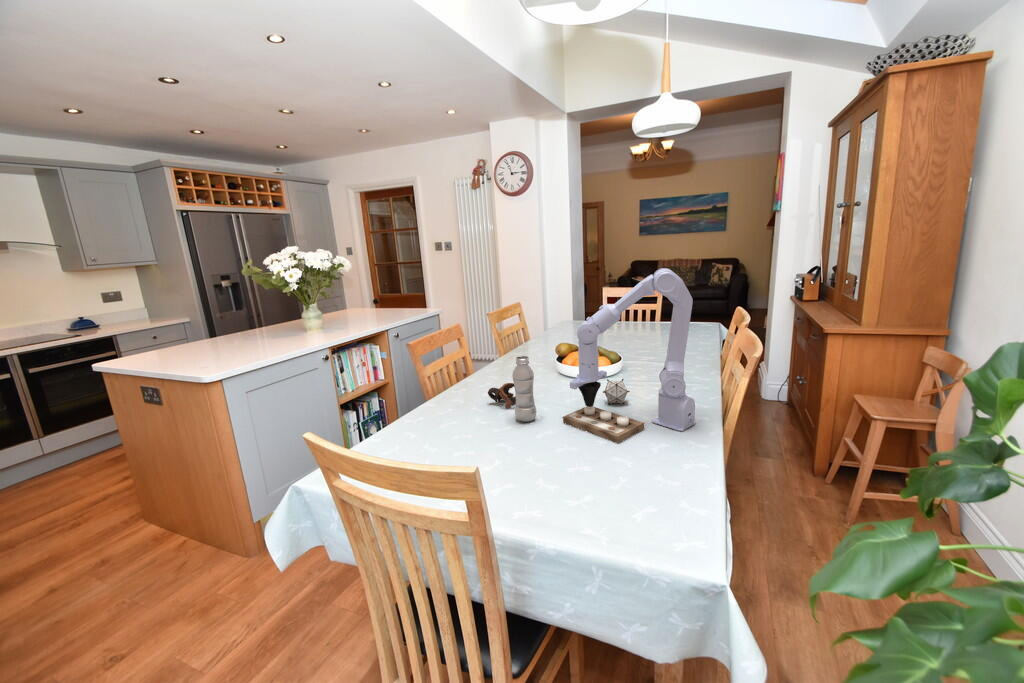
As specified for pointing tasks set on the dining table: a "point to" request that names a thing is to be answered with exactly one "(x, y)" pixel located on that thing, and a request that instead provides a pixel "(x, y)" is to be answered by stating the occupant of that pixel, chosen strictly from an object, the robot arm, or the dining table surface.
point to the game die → (615, 391)
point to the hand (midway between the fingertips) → (589, 405)
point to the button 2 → (622, 422)
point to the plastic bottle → (524, 390)
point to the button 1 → (589, 411)
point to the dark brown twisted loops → (503, 394)
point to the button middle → (605, 416)
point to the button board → (603, 425)
